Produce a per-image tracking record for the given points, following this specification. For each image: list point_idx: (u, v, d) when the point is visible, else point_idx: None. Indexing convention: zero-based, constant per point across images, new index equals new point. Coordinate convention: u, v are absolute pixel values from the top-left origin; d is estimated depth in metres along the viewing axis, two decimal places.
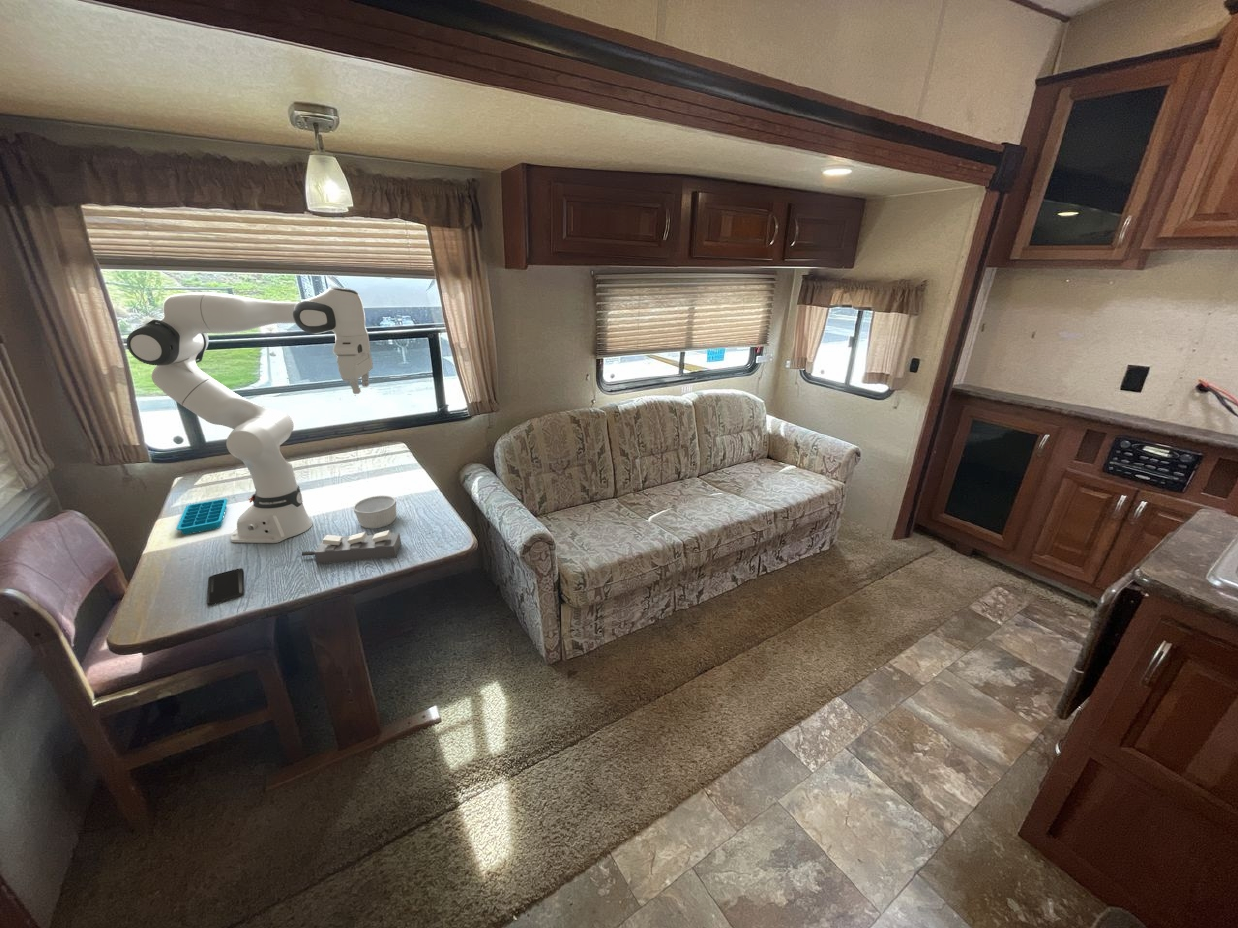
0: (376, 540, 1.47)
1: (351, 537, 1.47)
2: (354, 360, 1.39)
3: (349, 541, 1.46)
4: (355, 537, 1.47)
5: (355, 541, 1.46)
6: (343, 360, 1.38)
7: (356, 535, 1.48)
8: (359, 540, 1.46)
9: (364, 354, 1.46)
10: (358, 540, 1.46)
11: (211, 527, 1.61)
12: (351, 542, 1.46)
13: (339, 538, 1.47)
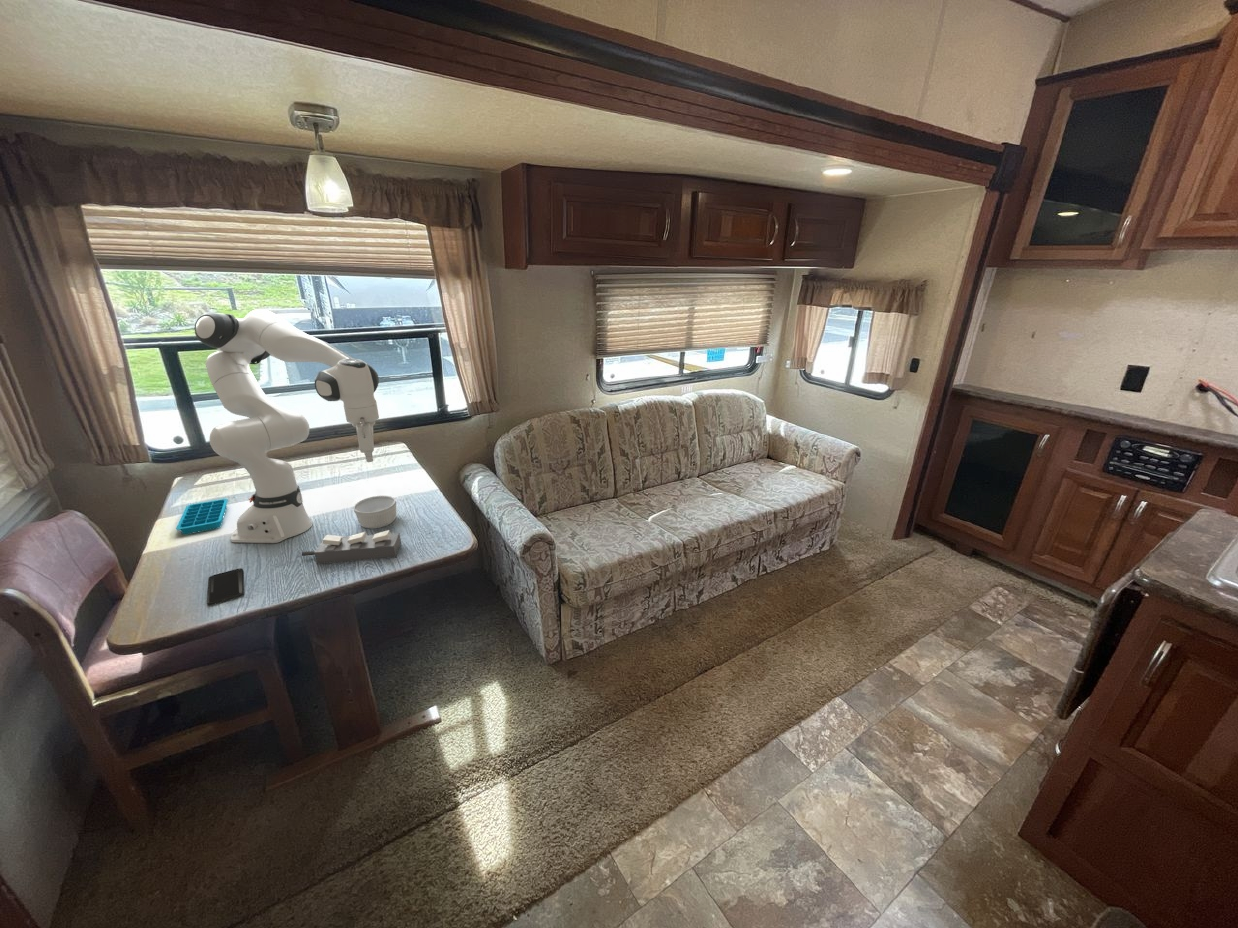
0: (376, 540, 1.47)
1: (351, 537, 1.47)
2: None
3: (349, 541, 1.46)
4: (355, 537, 1.47)
5: (355, 541, 1.46)
6: None
7: (356, 535, 1.48)
8: (359, 540, 1.46)
9: None
10: (358, 540, 1.46)
11: (210, 527, 1.61)
12: (351, 542, 1.46)
13: (339, 538, 1.47)
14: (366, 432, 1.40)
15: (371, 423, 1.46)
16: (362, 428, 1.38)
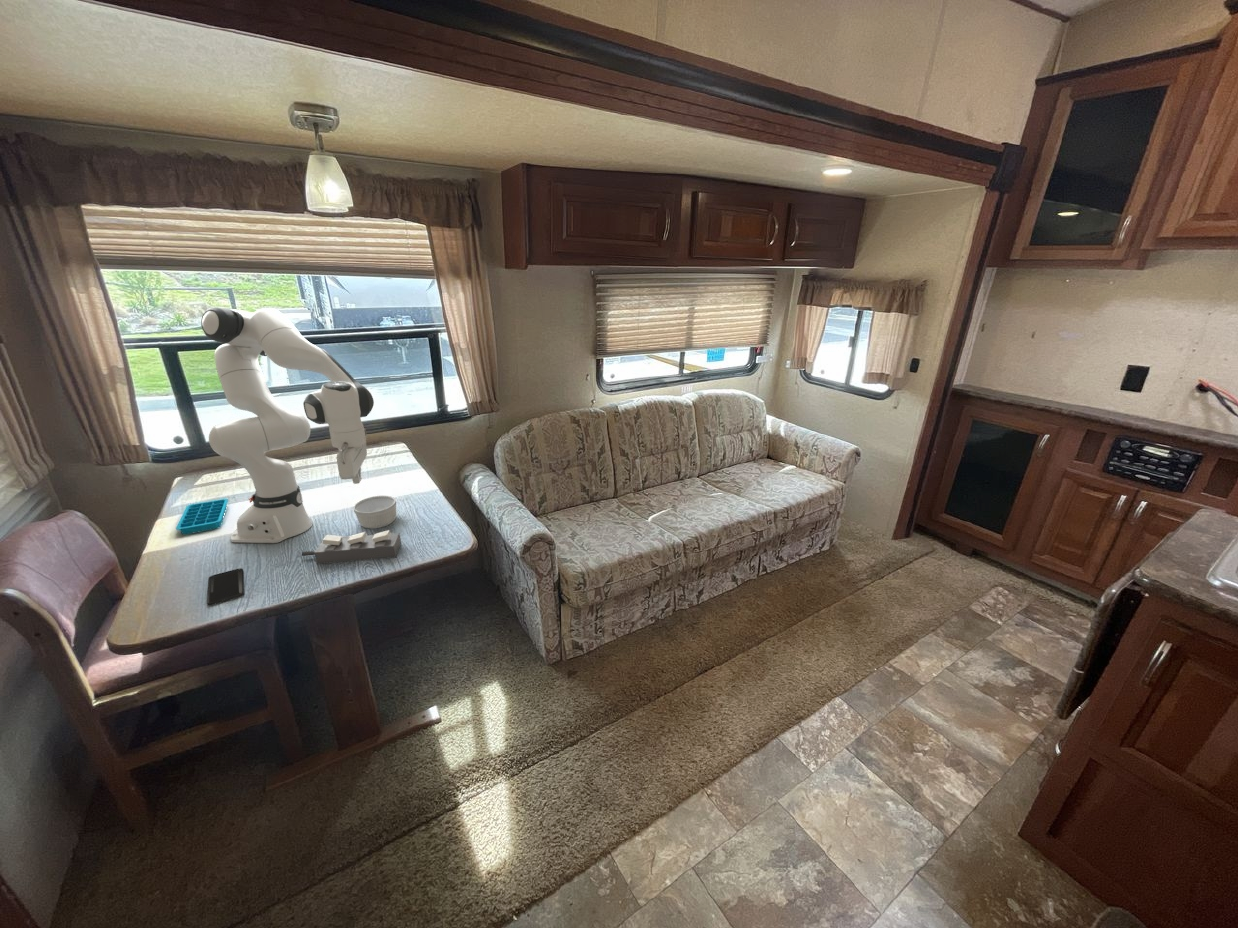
0: (376, 540, 1.47)
1: (351, 537, 1.47)
2: None
3: (349, 541, 1.46)
4: (355, 537, 1.47)
5: (355, 541, 1.46)
6: None
7: (356, 535, 1.48)
8: (359, 540, 1.46)
9: None
10: (358, 540, 1.46)
11: (210, 528, 1.61)
12: (351, 542, 1.46)
13: (339, 538, 1.47)
14: (346, 458, 1.33)
15: (356, 448, 1.40)
16: (341, 454, 1.32)
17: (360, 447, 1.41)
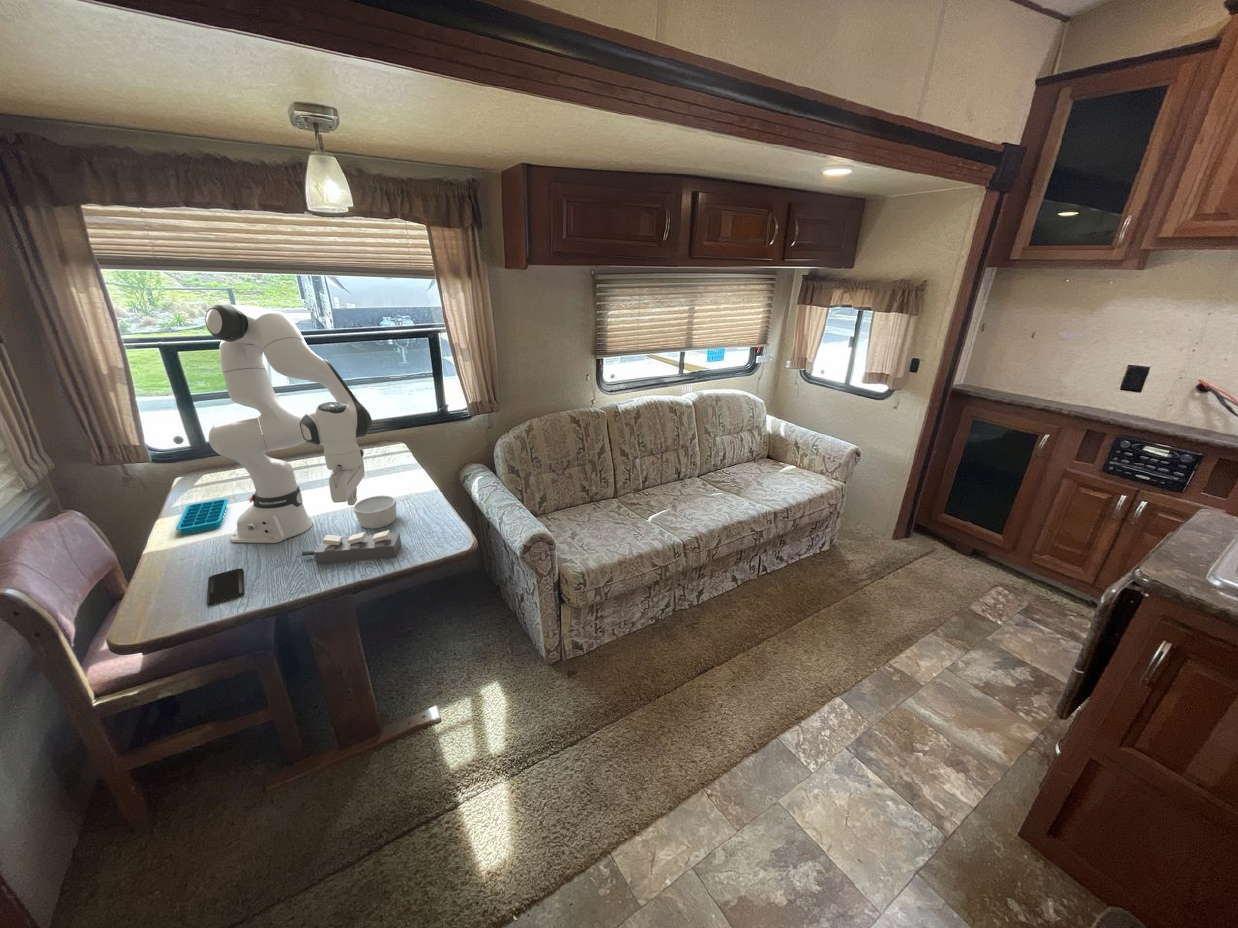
0: (376, 540, 1.47)
1: (351, 537, 1.47)
2: None
3: (349, 541, 1.46)
4: (355, 537, 1.47)
5: (355, 541, 1.46)
6: None
7: (356, 535, 1.48)
8: (359, 540, 1.46)
9: None
10: (358, 540, 1.46)
11: (210, 528, 1.61)
12: (351, 542, 1.46)
13: (339, 538, 1.47)
14: (338, 482, 1.31)
15: (351, 470, 1.37)
16: (333, 478, 1.29)
17: (355, 469, 1.38)
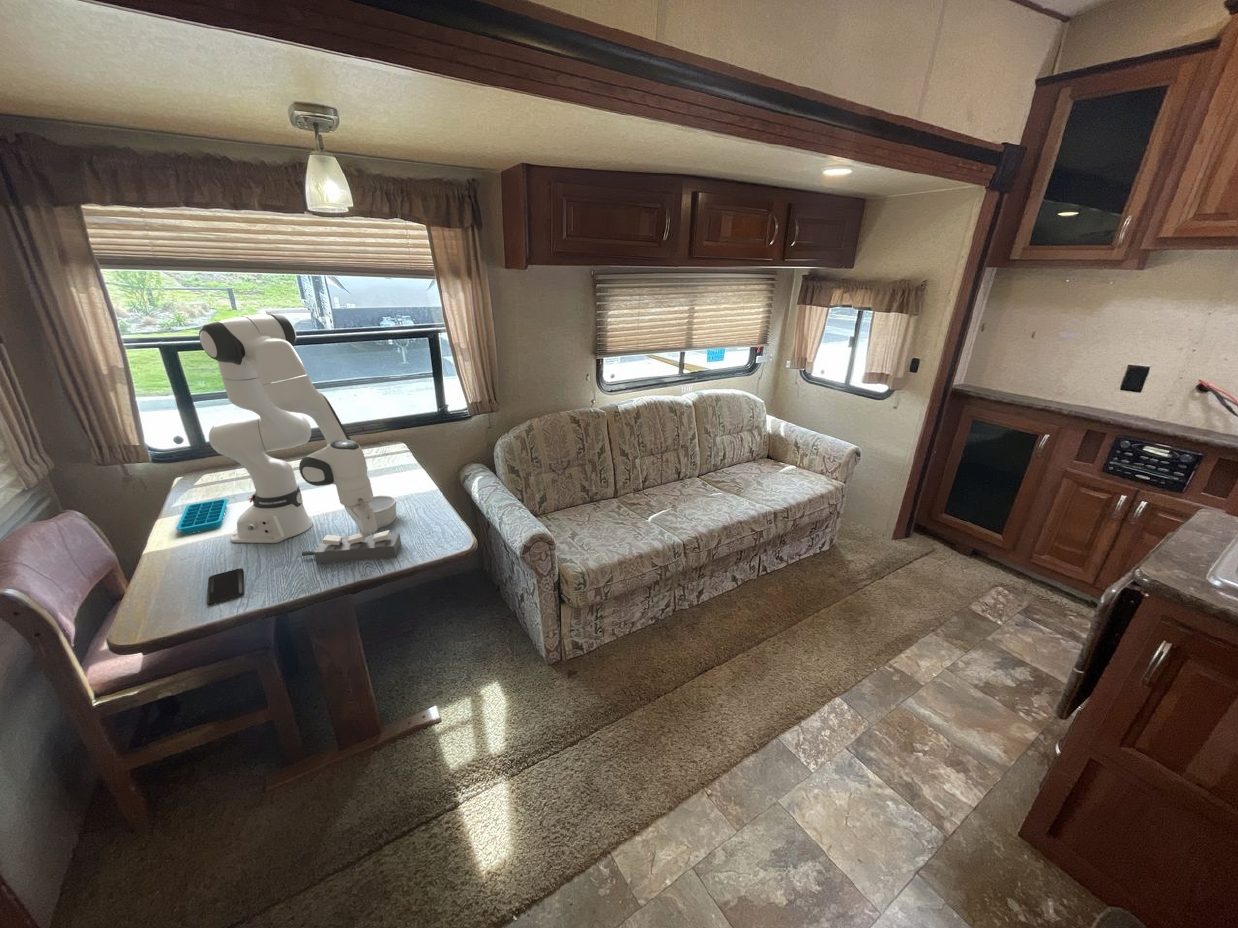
0: (376, 540, 1.47)
1: (351, 537, 1.47)
2: None
3: (349, 541, 1.46)
4: (355, 537, 1.47)
5: (355, 541, 1.46)
6: None
7: (356, 535, 1.48)
8: (359, 540, 1.46)
9: None
10: (358, 540, 1.46)
11: (210, 527, 1.61)
12: (351, 542, 1.46)
13: (339, 538, 1.47)
14: (370, 513, 1.37)
15: (367, 502, 1.43)
16: (367, 510, 1.36)
17: (369, 500, 1.44)
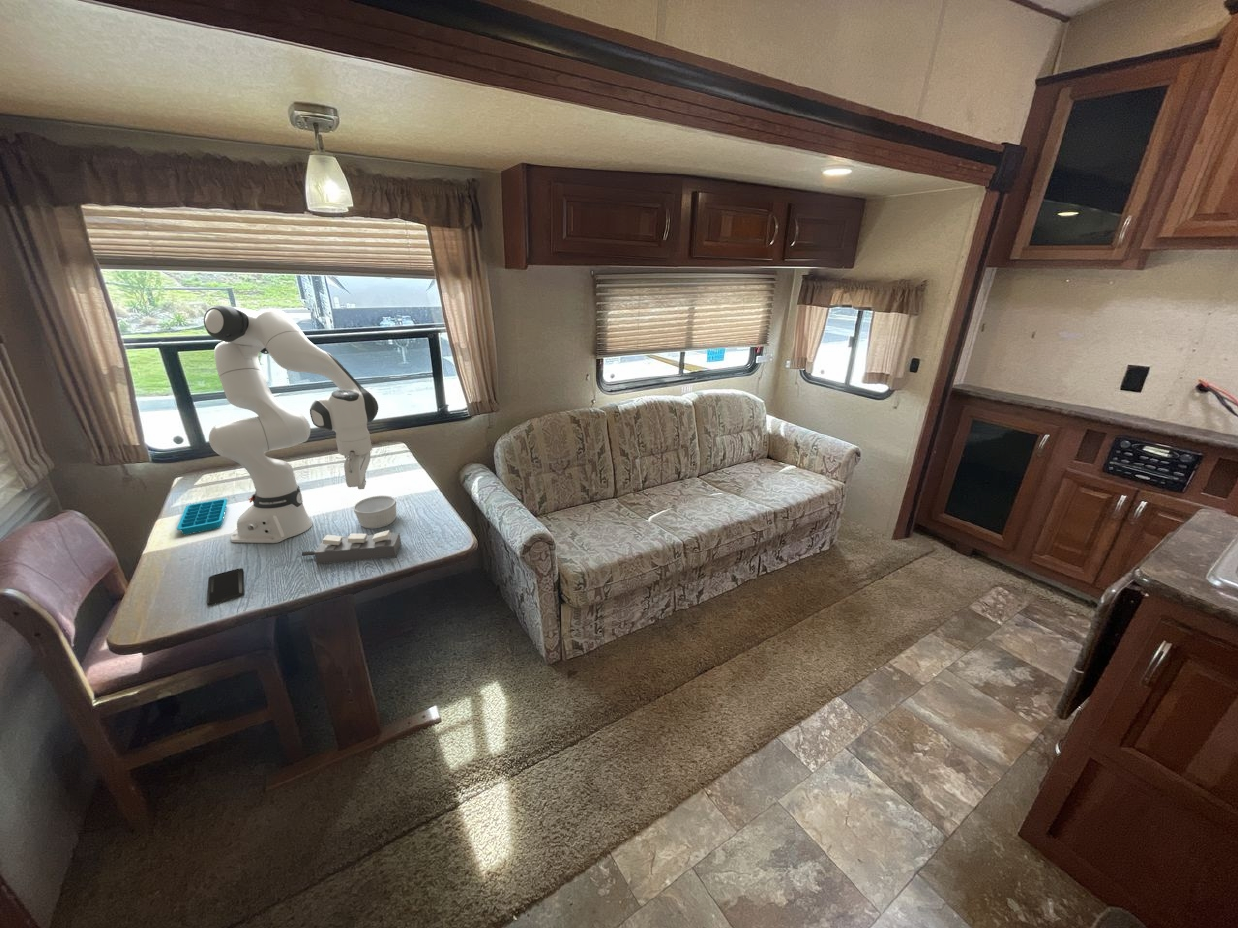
0: (376, 540, 1.47)
1: (352, 535, 1.47)
2: None
3: (349, 539, 1.46)
4: (357, 537, 1.47)
5: (355, 541, 1.46)
6: None
7: (357, 535, 1.48)
8: (359, 541, 1.46)
9: None
10: (358, 541, 1.46)
11: (211, 527, 1.61)
12: (351, 541, 1.46)
13: (339, 538, 1.47)
14: (354, 467, 1.36)
15: (362, 455, 1.42)
16: (349, 463, 1.34)
17: (366, 454, 1.43)
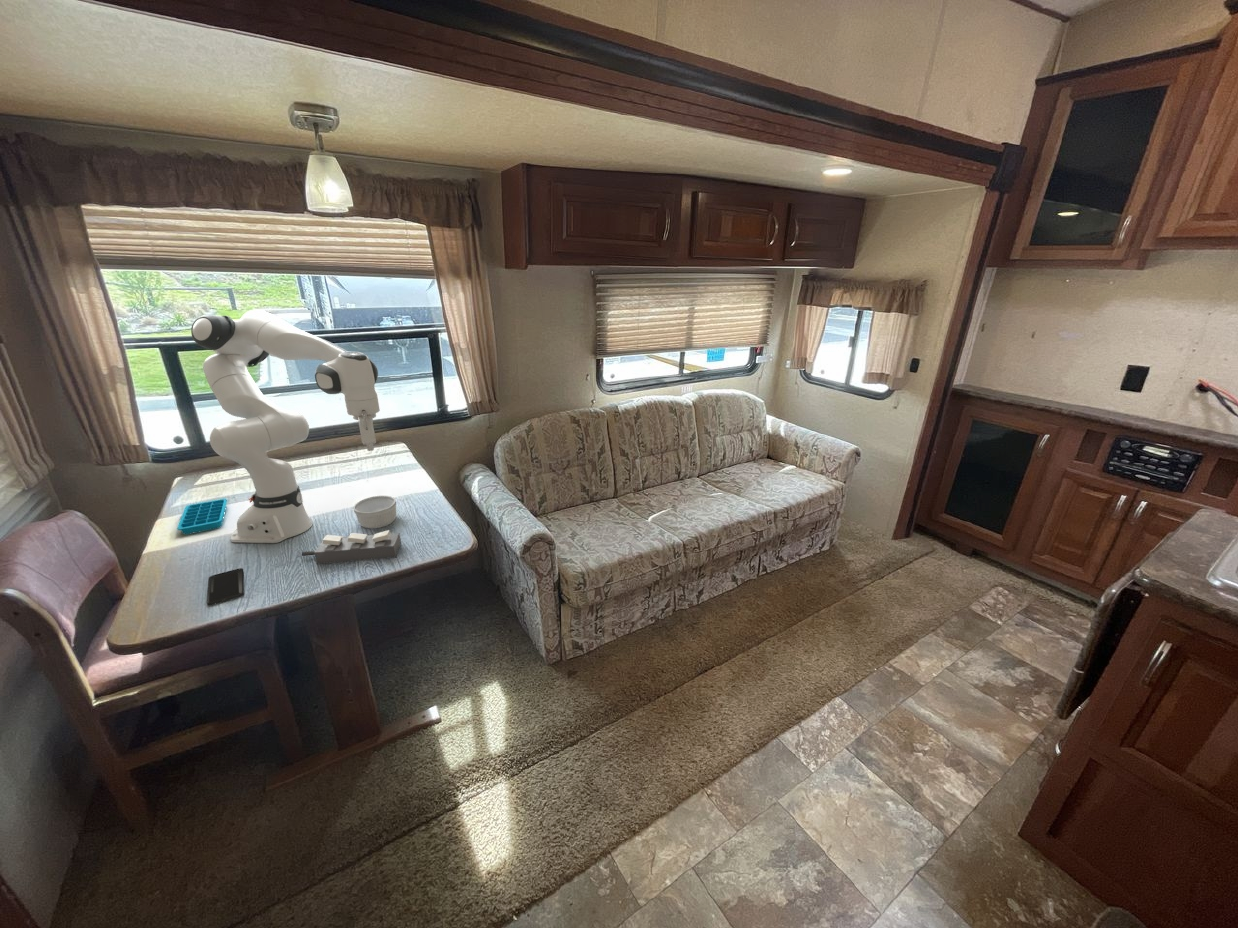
0: (376, 540, 1.47)
1: (352, 535, 1.47)
2: None
3: (349, 539, 1.46)
4: (357, 537, 1.47)
5: (355, 541, 1.46)
6: None
7: (358, 535, 1.48)
8: (359, 541, 1.47)
9: None
10: (358, 541, 1.46)
11: (211, 527, 1.61)
12: (351, 540, 1.46)
13: (339, 538, 1.47)
14: (369, 424, 1.41)
15: (372, 416, 1.47)
16: (364, 420, 1.39)
17: (375, 415, 1.48)
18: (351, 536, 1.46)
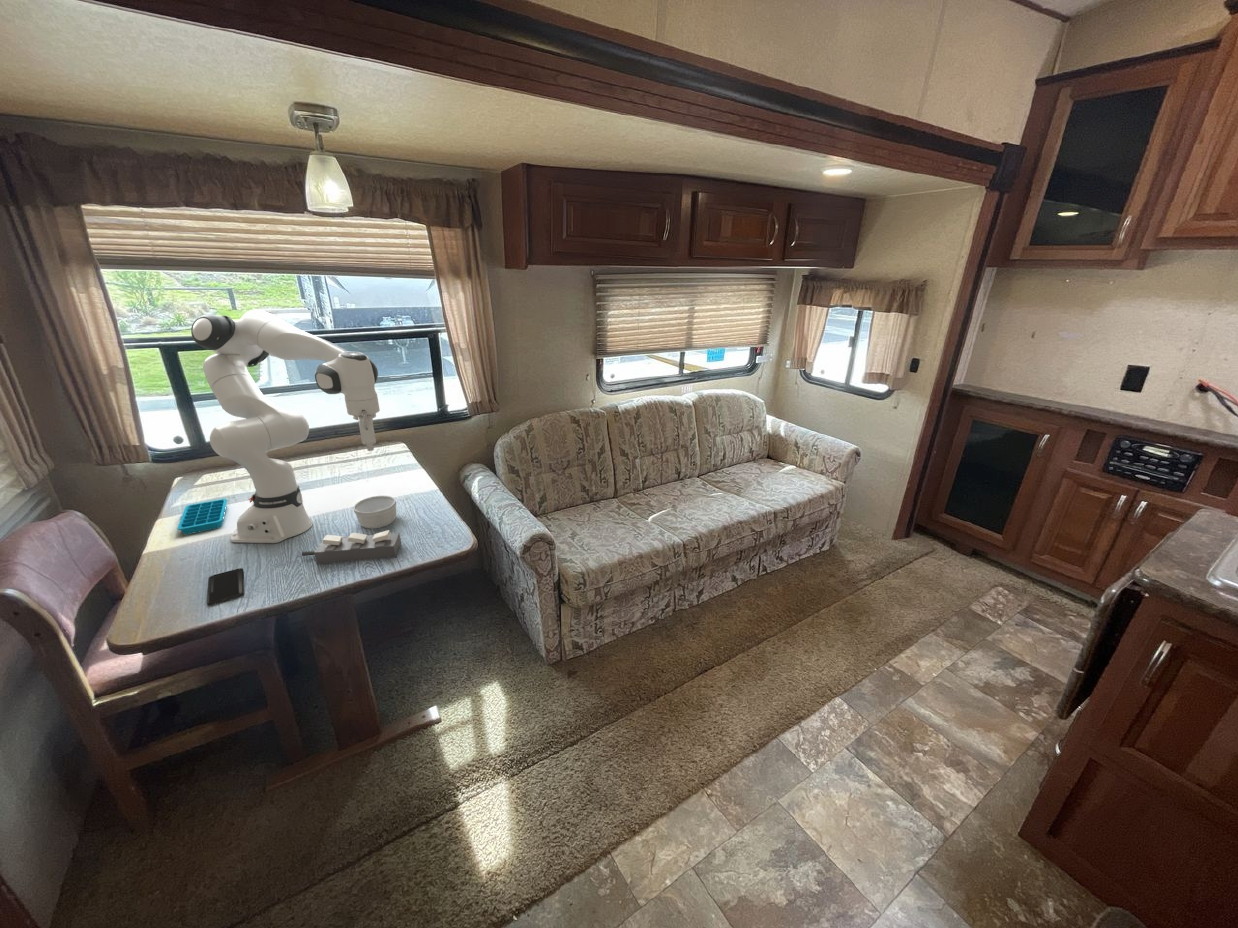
0: (376, 540, 1.47)
1: (352, 535, 1.47)
2: None
3: (350, 538, 1.46)
4: (357, 537, 1.47)
5: (355, 541, 1.46)
6: None
7: (358, 535, 1.48)
8: (359, 541, 1.47)
9: None
10: (358, 541, 1.46)
11: (212, 527, 1.61)
12: (351, 540, 1.46)
13: (339, 538, 1.47)
14: (369, 424, 1.41)
15: (372, 416, 1.47)
16: (364, 420, 1.39)
17: (375, 415, 1.48)
18: (351, 536, 1.46)
